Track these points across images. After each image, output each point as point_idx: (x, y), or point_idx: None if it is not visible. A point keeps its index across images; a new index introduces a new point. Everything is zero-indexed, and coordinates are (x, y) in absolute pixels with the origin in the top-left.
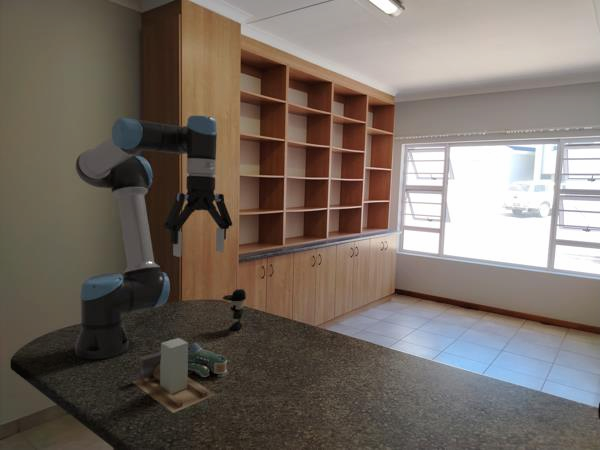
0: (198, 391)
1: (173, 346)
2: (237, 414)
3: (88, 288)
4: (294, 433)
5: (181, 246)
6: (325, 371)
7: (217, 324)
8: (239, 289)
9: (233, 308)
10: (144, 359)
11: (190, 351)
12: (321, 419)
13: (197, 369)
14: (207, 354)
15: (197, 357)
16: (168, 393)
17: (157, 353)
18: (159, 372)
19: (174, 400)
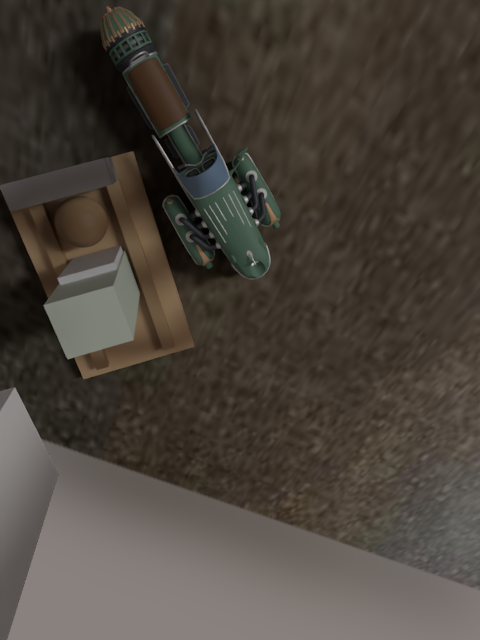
0: (157, 332)
1: (79, 350)
2: (211, 411)
3: None
4: (272, 492)
5: (29, 562)
6: (474, 335)
7: None
8: None
9: None
10: (15, 207)
11: (183, 181)
12: (335, 476)
13: (184, 244)
14: (225, 232)
15: (196, 215)
16: None
17: (64, 177)
18: (68, 242)
19: (91, 353)
